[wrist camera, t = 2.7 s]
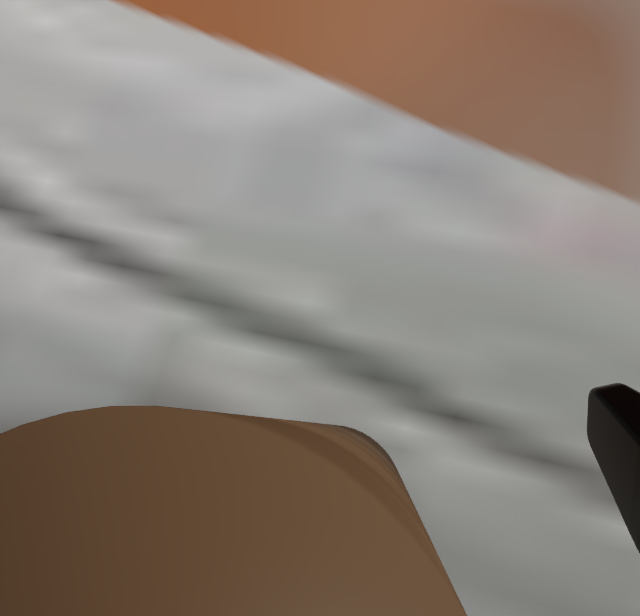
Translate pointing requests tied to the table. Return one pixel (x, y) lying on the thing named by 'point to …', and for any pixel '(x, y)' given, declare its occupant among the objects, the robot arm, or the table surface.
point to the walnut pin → (208, 519)
